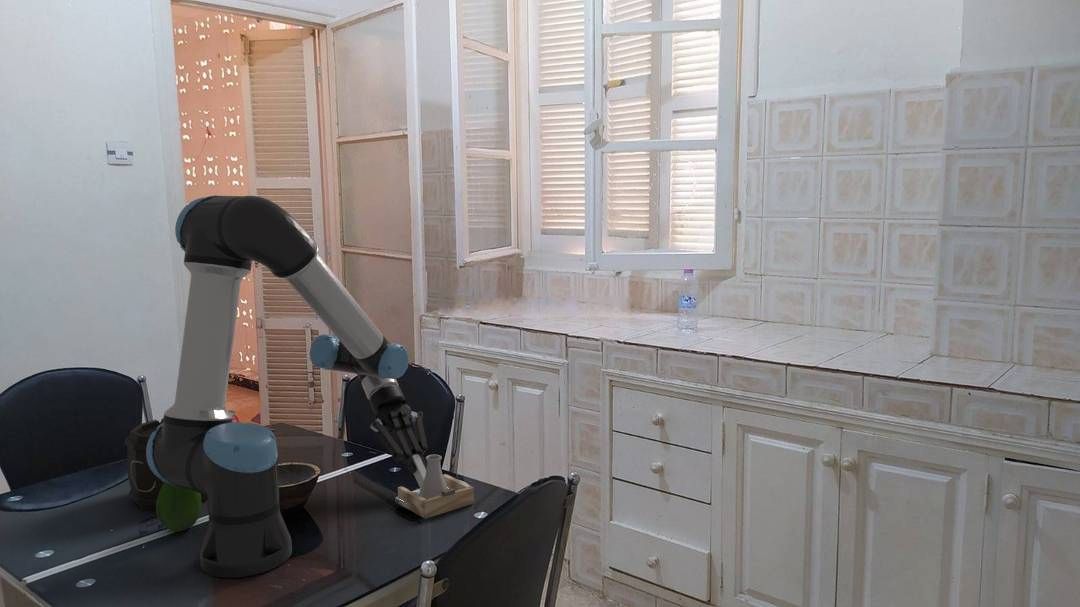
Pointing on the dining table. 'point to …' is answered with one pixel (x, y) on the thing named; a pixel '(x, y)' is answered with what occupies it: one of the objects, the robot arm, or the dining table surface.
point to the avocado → (177, 507)
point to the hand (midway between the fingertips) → (425, 483)
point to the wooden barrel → (143, 467)
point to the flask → (433, 478)
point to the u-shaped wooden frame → (438, 499)
